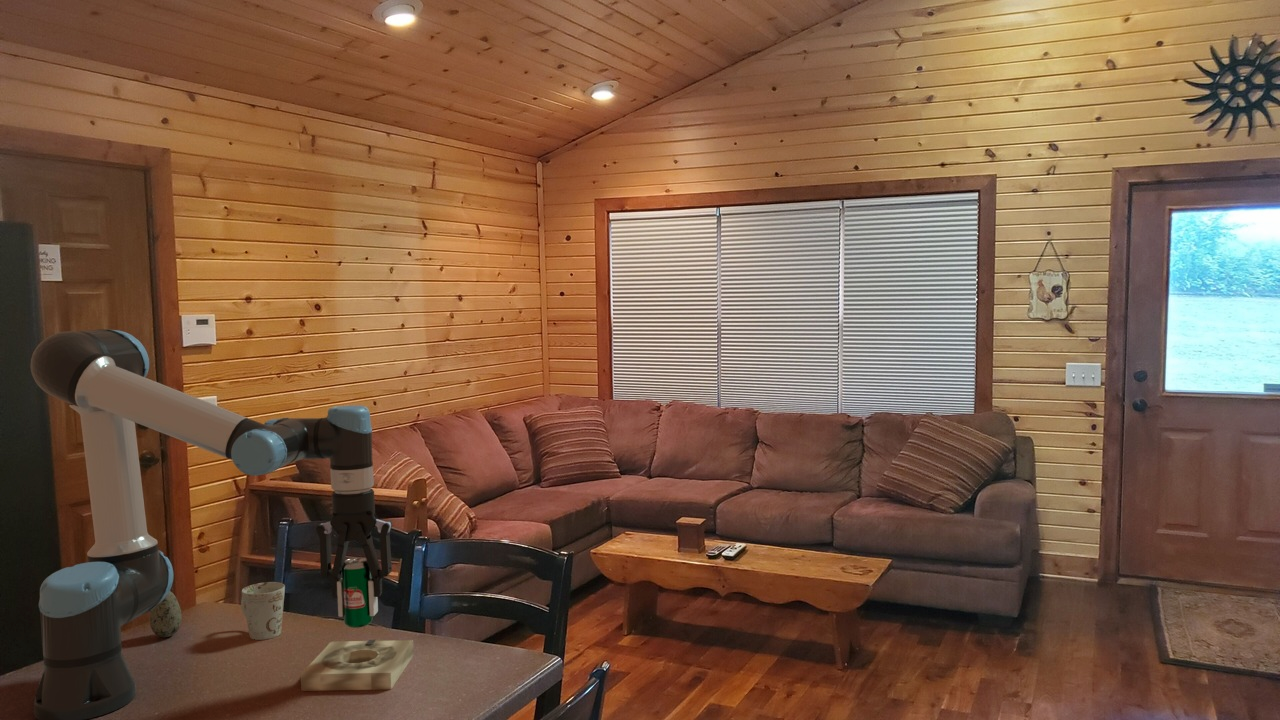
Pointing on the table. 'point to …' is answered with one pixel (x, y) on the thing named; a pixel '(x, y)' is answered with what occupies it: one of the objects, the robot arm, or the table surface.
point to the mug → (263, 609)
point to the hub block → (358, 665)
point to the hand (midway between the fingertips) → (358, 613)
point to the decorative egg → (166, 616)
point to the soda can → (356, 592)
